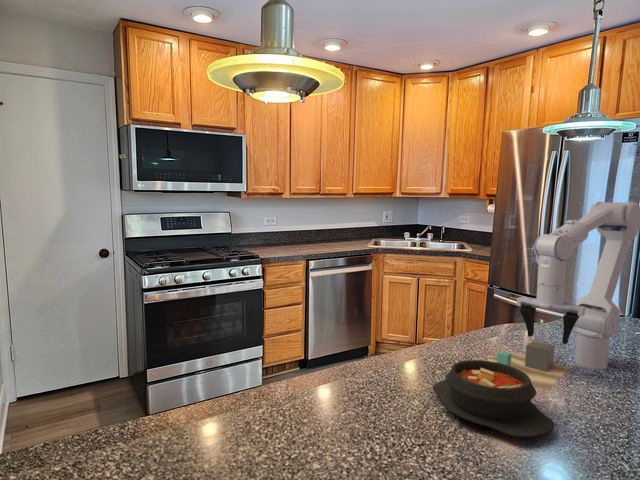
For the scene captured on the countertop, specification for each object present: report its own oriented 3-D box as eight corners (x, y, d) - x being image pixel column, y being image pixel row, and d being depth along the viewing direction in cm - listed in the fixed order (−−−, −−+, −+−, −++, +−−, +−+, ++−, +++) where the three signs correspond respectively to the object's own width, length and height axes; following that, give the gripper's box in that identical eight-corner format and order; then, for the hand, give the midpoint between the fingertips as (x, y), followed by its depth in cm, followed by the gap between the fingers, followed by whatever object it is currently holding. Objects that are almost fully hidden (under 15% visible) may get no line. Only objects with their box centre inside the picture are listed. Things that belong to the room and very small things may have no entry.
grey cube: (531, 361, 112) (533, 340, 111) (553, 366, 108) (554, 345, 107) (524, 366, 108) (526, 345, 107) (546, 372, 104) (548, 350, 104)
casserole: (576, 432, 78) (579, 389, 77) (507, 458, 70) (509, 410, 69) (474, 381, 100) (475, 347, 100) (412, 395, 92) (413, 359, 92)
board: (503, 353, 119) (503, 350, 119) (570, 370, 107) (570, 367, 107) (475, 371, 106) (475, 368, 106) (548, 392, 95) (548, 389, 94)
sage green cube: (500, 365, 108) (501, 350, 108) (510, 368, 106) (511, 353, 106) (496, 368, 106) (497, 352, 106) (506, 371, 105) (507, 355, 104)
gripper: (513, 282, 103) (510, 336, 104) (581, 291, 93) (577, 350, 94) (523, 278, 108) (520, 330, 109) (588, 286, 98) (584, 343, 99)
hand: (547, 339), depth 102 cm, fingers open, 7 cm apart
